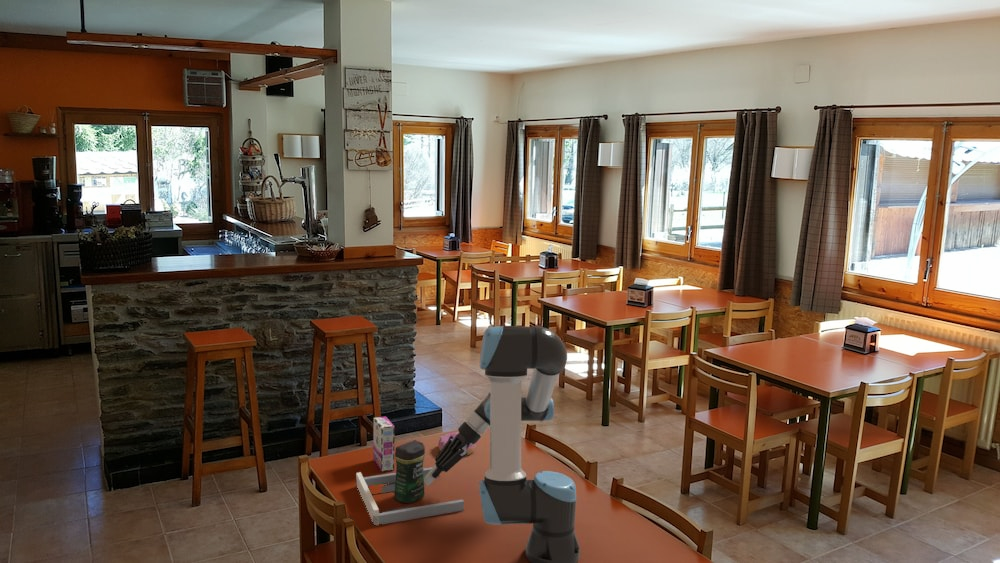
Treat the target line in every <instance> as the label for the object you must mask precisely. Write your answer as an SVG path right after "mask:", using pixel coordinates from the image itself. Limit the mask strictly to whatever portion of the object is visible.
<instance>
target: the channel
mask: <svg viewBox="0 0 1000 563" xmlns="http://www.w3.org/2000/svg"><path fill="white" fill-rule="evenodd" d="M433 467H434V466H431V467H425V468H424V467H423V477H425V476H426V475H427V473H428V472H429V471H430V470H431V469H432V468H433ZM440 474H441V473H440ZM440 474H439V475H438V476H437V478H438V477H440V476H441V475H440ZM355 477H356V478H355V480H356V481H355V482H356V483H355V484H356V485H357V487H356V489H357V488H358V489H357V491H358V490H359V492H360V494H359V495H361V496H360V498H361V497H362V498H361V500H362V499H363V500H362V502H363V501H364V503H365V505H366V507H365V509H366V508H367V509H366V511H367V510H368V511H367V513H368V512H369V514H368V516H369V515H370V516H369V518H370V517H371V518H370V520H371V519H372V520H371V522H373V523H372V524H374V525H376V526H380V525H379V524H382V525H387V524H393V523H397V522H398V523H399V522H404V521H409V520H416V519H422V518H427V517H433V516H438V515H439V516H440V515H444V514H450V513H451V514H452V513H456V512H461V511H465V501H464V499H462V498H461V499H457V500H450V501H445V502H443V501H442V502H438V503H433V504H425V505H422V506H421V505H420V506H413V507H412V508H407V509H401V510H395V511H389V512H383V513H380V509H379V507H378V504H377V503H376V501H375V499H374V497H373V496H374V495H372V494H371V492H370V490H369V488H368V486H370V485H377V484H378V485H379V484H388V483H395V481H396V472H391V473H385V474H377V475H370V476H363V473H362V472H361V471H359V472H356V474H355ZM356 485H355V486H356ZM359 492H358V493H359ZM364 503H363V504H364ZM365 505H364V506H365ZM374 525H373V526H374Z"/></svg>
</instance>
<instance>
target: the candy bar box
mask: <svg viewBox="0 0 1000 563" xmlns="http://www.w3.org/2000/svg"><path fill="white" fill-rule="evenodd" d="M395 428H396V427H395V425H394V424H393V423H392V422H391V420H390V419H389V418H388V417H387V416H386V415H385V416H379V417H377V416H376V417H373V430H372V431H373V446H372V447H373V459H372V460H373V462H374V461H375V462H376V463H375V462H374V463H375V465H376V464H377V465H376V466H377V468H378V469H379V470H380V472H381V471H386V472H392V471H395V431H396V430H395ZM389 470H390V471H389ZM391 470H392V471H391Z"/></svg>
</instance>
